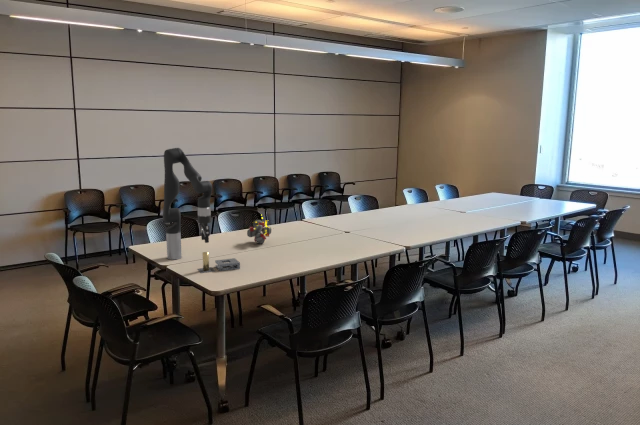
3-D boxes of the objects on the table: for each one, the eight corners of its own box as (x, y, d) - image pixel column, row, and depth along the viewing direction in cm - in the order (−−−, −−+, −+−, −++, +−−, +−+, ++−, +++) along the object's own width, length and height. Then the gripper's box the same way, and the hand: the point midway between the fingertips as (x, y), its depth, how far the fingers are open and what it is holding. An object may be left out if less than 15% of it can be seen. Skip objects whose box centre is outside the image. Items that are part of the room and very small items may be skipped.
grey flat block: (215, 267, 313) (215, 260, 312) (234, 264, 318) (234, 258, 317) (219, 271, 303) (219, 264, 302) (240, 269, 308) (239, 262, 308)
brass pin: (202, 269, 306) (201, 252, 304) (208, 269, 307) (207, 251, 305) (203, 271, 302) (203, 253, 301) (209, 270, 304) (209, 252, 302)
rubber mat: (196, 269, 307) (196, 268, 307) (211, 267, 311) (211, 267, 311) (200, 273, 299) (200, 273, 298) (215, 272, 302) (215, 271, 302)
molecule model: (276, 246, 365) (276, 216, 361) (247, 248, 360) (247, 217, 356) (271, 239, 389) (271, 210, 385) (244, 240, 384) (243, 211, 380)
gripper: (195, 213, 304) (196, 239, 306) (200, 217, 291) (201, 244, 294) (207, 212, 307) (208, 238, 310) (213, 216, 294) (214, 243, 297)
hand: (205, 241), depth 302 cm, fingers open, 8 cm apart
